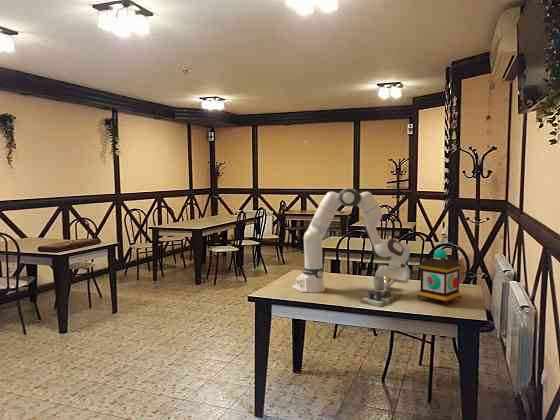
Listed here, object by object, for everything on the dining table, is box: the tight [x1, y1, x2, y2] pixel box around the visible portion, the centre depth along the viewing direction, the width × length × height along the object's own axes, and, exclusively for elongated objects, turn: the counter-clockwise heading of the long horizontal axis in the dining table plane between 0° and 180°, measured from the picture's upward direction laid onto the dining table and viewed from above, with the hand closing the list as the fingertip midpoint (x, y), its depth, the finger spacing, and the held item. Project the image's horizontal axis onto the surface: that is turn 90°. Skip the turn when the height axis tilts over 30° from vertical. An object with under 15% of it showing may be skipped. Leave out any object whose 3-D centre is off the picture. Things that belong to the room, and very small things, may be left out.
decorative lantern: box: [417, 247, 462, 308], centre depth 241 cm, size 20×20×30 cm
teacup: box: [372, 275, 391, 291], centre depth 270 cm, size 14×11×8 cm
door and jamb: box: [359, 289, 402, 308], centre depth 244 cm, size 24×12×6 cm, turn 137°
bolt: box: [380, 276, 389, 296], centre depth 245 cm, size 10×3×10 cm, turn 137°
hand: (387, 286), depth 249 cm, fingers closed, pressing on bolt
